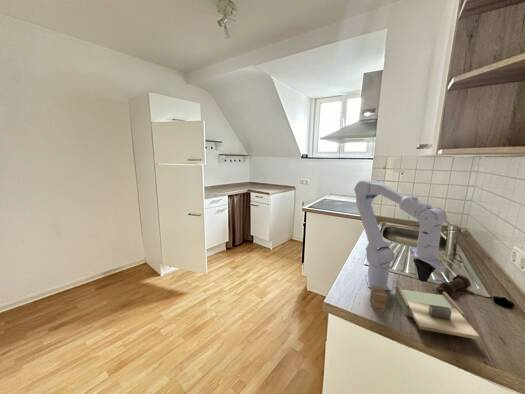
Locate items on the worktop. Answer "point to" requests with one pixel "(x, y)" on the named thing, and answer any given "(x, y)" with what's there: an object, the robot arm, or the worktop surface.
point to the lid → (441, 320)
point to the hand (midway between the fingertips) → (422, 280)
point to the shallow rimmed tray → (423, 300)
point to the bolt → (454, 285)
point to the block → (378, 298)
